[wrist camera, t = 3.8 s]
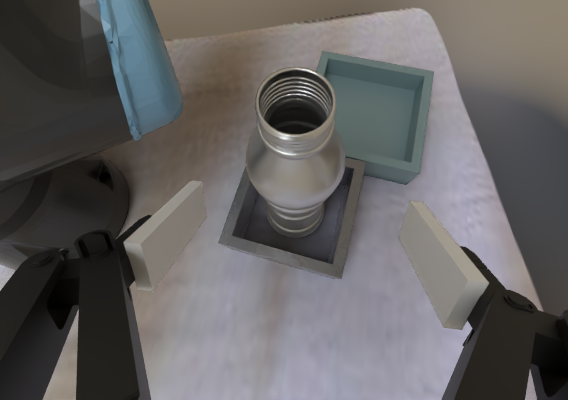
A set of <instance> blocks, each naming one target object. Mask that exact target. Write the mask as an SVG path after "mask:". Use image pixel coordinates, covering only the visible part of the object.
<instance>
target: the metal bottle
mask: <svg viewBox="0 0 568 400" xmlns="http://www.w3.org/2000/svg"><path fill="white" fill-rule="evenodd" d="M255 109H256V114H257V127H256V128H255V129H254V131H253V133H252V135H251V137H250V140H249V143H248V147H247V152H246V167H247V172H248V175H249V178H250V180H251V182H252V184H253V185H254V187H255V188H256V190H257V191H258V193H259V194H260V195H261V196H262V197H263V198H264V199H265V200H266V208H265V210H266V216H267V219H268V221H269V223H270V225H271V226H272V227H273V228H274V229H275V231H277V232H278V233H280V234H281V235H284V236H286V237H290V238H300V237H305V236H307V235H309V234H311V233H312V232H314V231H315V230H316V229H317V228H318V227H319V225H320V224H321V222H322V219H323V217H324V211H325V208H324V201H325V200H326V199H327V198H328V197H329V196H330V195H331V194H332V193H333V192H334V190H335V189H336V188H337V186H338V184H339V183H340V181H341V179H342V176H343V174H344V171H345V164H346V159H345V150H344V145H343V141H342V138H341V136H340V134H339V132H338V130H337V129H336V127H335V126H334V123H335V121H334V116H335V111H336V95H335V92H334V89H333V87H332V85H331V84H330V82H329V81H328V80H327V79H326V78H325V77H324V76H323V75H321V74H320V73H318V72H316V71H314V70H311V69H308V68H304V67H289V68H284V69H281V70H278V71H276V72H274V73H272V74H271V75H270V76H268V77H267V78H266V79H265V80H264V81H263V82H262V84H261V85H260V87H259V89H258V91H257V95H256V102H255Z"/></svg>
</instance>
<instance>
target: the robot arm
mask: <svg viewBox="0 0 568 400" xmlns="http://www.w3.org/2000/svg"><path fill="white" fill-rule="evenodd" d="M182 108H183V97H182V93H181V89H180V86H179V83H178V80H177V77H176V74H175V71H174V68H173V66H172V63H171V60H170V57H169V54H168V52H167V49H166V46H165V43H164V41H163V38H162V36H161V33H160V30H159V28H158V25H157V22H156V20H155V17H154V14H153V12H152V9H151V6H150V4H149V1H148V0H0V264H1V265H4V266H6V267H9V268H11V269H14V270H16V271H15V273H14V274H13V275H12V276H11V278H10V279H9V280H8V282H7V283H6V284H5V286H4V287H3V288H2V290H1V291H0V400H42V399H43V397H44V394H45V392H46V389H47V387H48V384H49V382H50V379H51V377H52V374H53V372H54V369H55V367H56V364H57V362H58V359H59V356H60V354H61V351H62V349H63V346H64V344H65V341H66V339H67V336H68V334H69V331H70V329H71V326H72V324H73V321H74V319H75V316H76V314H77V311H78V308H79V320H78V352H77V385H76V400H151V396H150V391H149V386H148V380H147V375H146V370H145V364H144V359H143V354H142V348H141V343H140V338H139V332H138V327H137V322H136V316H135V311H134V306H133V300H132V295H131V291H130V287H129V286H130V285H131V284H132V283H133V282H134V281H135V282H136V286H137V289H139V290H147V291H154V289H155V288H156V287H157V285H158V284H159V283H160V281H161V280H162V278H163V277H164V276H165V274H166V273H167V271H168V270H169V269H170V267H171V266H172V265H173V263H174V262H175V260H176V259H177V258H178V256H179V255H180V254H181V252H182V251H183V249H184V248H185V247H186V245H187V244H188V242H189V241H190V240H191V238H192V237H193V236H194V234H195V233H196V231H197V230H198V229H199V227H200V226H201V224H202V223H203V222H204V220H205V219H206V209H205V200H204V191H203V182H201V181H190V182H189V183H188V184H187V185H186V186H185V187H183V188H182V189H181V190H180V191H179V192H178V193H177V194H176V195H175V196H174V197H172V198H171V199H170V200H169V201H168V202H167V203H166V204H165V205H164V206H163V207H161V208H160V209H159V210H158V211H157V212H156V213H155V214H154V215H153V216H152V215H147V216H145V217H143V218H141V219H139V220H138V221H137V222H136V223H135V224H133V226H131V227H130V228H129V229H128V230H127V231H125V232H124V233H123V234H122V235H121V236H119V237H118V238H117V239H116V240H115V241H114V239H115V238H116V236H117V235H118V233H119V231H120V230H121V228H122V226H123V223H124V221H125V218H126V215H127V211H128V205H129V192H128V186H127V183H126V180H125V178H124V176H123V174H122V173H121V172H120V170H119V169H118V168H117V167H116V166H115V165H114V164H112V163H111V162H110V161H108V160H106V159H105V158H103V157H102V156H100V155H98V154H97V153H98V152H101V151H103V150H106V149H108V148H111V147H113V146H116V145H119V144H121V143H124V142H126V141H129V140H131V139H134V140H135V141H138V140H140V139H142V136H143V135H145V134H147V133H149V132H151V131H154V130H156V129H158V128H160V127H163V126H165V125H167V124H169V123H171V122H173V121H174V120H176V119H177V118H178V117H179V115H180V113H181V111H182ZM398 238H399V240H400V242H401V244H402V246H403V248H404V250H405V252H406V254H407V256H408V258H409V260H410V262H411V264H412V266H413V268H414V270H415V272H416V274H417V276H418V278H419V280H420V282H421V284H422V286H423V288H424V290H425V292H426V294H427V296H428V298H429V300H430V302H431V304H432V306H433V308H434V310H435V312H436V314H437V316H438V318H439V320H440V322H441V324H442V326H443V327H444V328H452V329H460V330H462V328H463V327H464V325H465V323H466V322H467V320H468V322H469V323H470V325H471V327H472V328H473V329H472V330H471V332H470V334H469V335H468V337H467V339H466V340H465V342H464V343H463V346H464V348H463V350H462V353H461V355H460V357H459V360H458V362H457V364H456V367H455V369H454V372H453V374H452V376H451V379H450V381H449V383H448V386H447V388H446V390H445V393H444V395H443V398H442V400H525V395H526V389H527V383H528V376H529V370H530V369H531V374H532V378H533V383H534V387H535V391H536V396H537V400H568V310H566V311H564V312H563V313H562V315H561V316H560V317H558V316H554V315H551V314H548V313H545V312H542V311H539V310H538V309H537V308H536V306H535V305H534V304H533V303H532V302H531V301H530V300H528V299H527V298H526V297H524V296H522V295H520V294H519V293H516V292H514V291H511V290H506V289H505V288H504V286H503V285H502V284H501V283H500V282H499V281H498V280H497V278H496V277H495V276H494V275H493V274H492V273H491V271H490V270H489V269H487V267H486V266H485V265H484V263H482V261H481V260H480V259H479V258H478V257H477V255H476V254H475V253H473V252H472V251H470V250H469V249H468V248H466V247H461V246H459V245H458V244H457V243H456V242H455V240H454V239H453V238H452V237H451V236H450V234H449V233H448V232H447V231H446V229H445V228H444V227H443V226H442V224H441V223H440V222H439V221H438V220H437V218H436V217H435V216H434V215H433V213H432V212H431V211H430V210H429V209H428V207H427V206H426V205H425V204H424V202H421V201H410V202H409V205H408V209H407V212H406V215H405V218H404V221H403V224H402V227H401V230H400V234H399V237H398Z"/></svg>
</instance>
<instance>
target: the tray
mask: <svg viewBox="0 0 568 400" xmlns="http://www.w3.org/2000/svg"><path fill="white" fill-rule="evenodd" d="M316 72H318V73H320V74H321V75H323V76H324V77H325V78H326V79H327V80H328V81H329V82H330V84H331V85H332V87H333V89H334V92H335V95H336V111H335V116H334V121H335V123H334V126H335V127H336V129H337V130H338V132H339V134H340V136H341V138H342V141H343V145H344V150H345V157H346V158H350V159H354V160H359V161H363V162H366V164H365V169H364V174H363V175H367V176H372V177H376V178H380V179H384V180H388V181H392V182H397V183H401V184H405V185H406V184H407V183H409V182H410V181H411V180H412V179H413V178H414V177H416V176H417V175H418V174H419V173H420V167H421V160H422V152H423V145H424V138H425V131H426V124H427V117H428V110H429V103H430V96H431V89H432V82H433V75H434V72H433V71H428V70H422V69H417V68H412V67H406V66H401V65H395V64H390V63H384V62H379V61H374V60H368V59H363V58H357V57H352V56H347V55H341V54H336V53H330V52H325V51H322V54H321V58H320V61H319V64H318V67H317V71H316Z"/></svg>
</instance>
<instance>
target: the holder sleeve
mask: <svg viewBox="0 0 568 400" xmlns="http://www.w3.org/2000/svg"><path fill="white" fill-rule="evenodd" d="M345 159H346V164H345V171H344V174H343V176H342V179H341V181H340V183H339V184H341V185H345V189H344V193H343V197H342V202H341V206H340V210H339V215H338V219H337V224H336V228H335V232H334V237H333V241H332V245H331V250H330V254H329V258H328V263H325V262H322V261H318V260H315V259H311V258H308V257H304V256H301V255H297V254H294V253H290V252H287V251H283V250H280V249H276V248H273V247H269V246H266V245H262V244H259V243H255V242H252V241H248V240H245V239H243V238H244V235H245V232H246V229H247V225H248V222H249V219H250V216H251V213H252V210H253V207H254V204H255V201H256V198H257V195H258V191H257V190H256V188H255V187H254V185H253V184H252V182H251V180H250V178H249V175H248V172H247V167H245V170H244V172H243V175H242V178H241V181H240V184H239V186H238V189H237V192H236V195H235V198H234V200H233V203H232V206H231V209H230V212H229V214H228V217H227V220H226V223H225V226H224V228H223V231H222V234H221V237H220V240H219V242H218V243H220V244H222V245H224V246H226V247H228V248H230V249H233V250H237V251H240V252H244V253H247V254H250V255H254V256H257V257H261V258H264V259H267V260H271V261H274V262H278V263H281V264H285V265H288V266H291V267H295V268H298V269H302V270H305V271H309V272H312V273H315V274H319V275H322V276H326V277H329V278H333V279H342V274H343V269H344V264H345V260H346V255H347V250H348V245H349V241H350V236H351V231H352V226H353V221H354V217H355V212H356V207H357V202H358V198H359V193H360V188H361V183H362V179H363V174H364V169H365V164H366V162H363V161H359V160H354V159H350V158H346V157H345Z"/></svg>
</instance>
